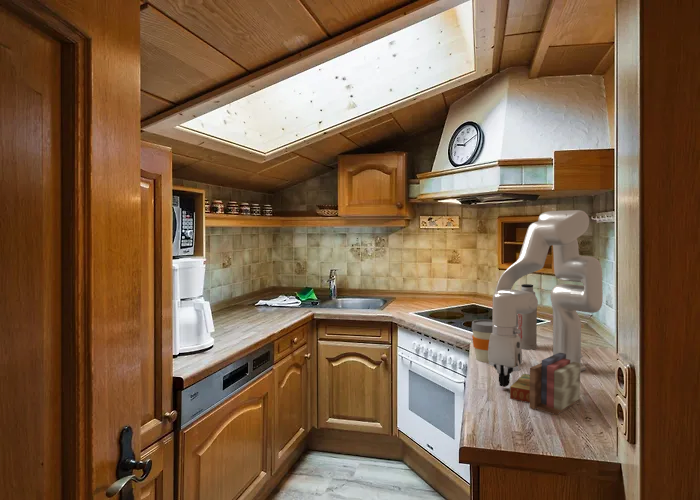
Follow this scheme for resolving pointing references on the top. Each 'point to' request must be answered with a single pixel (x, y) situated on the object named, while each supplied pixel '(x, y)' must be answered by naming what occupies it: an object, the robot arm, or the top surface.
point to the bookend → (554, 384)
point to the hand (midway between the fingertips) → (504, 385)
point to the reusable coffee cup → (482, 338)
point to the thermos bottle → (528, 324)
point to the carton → (521, 389)
